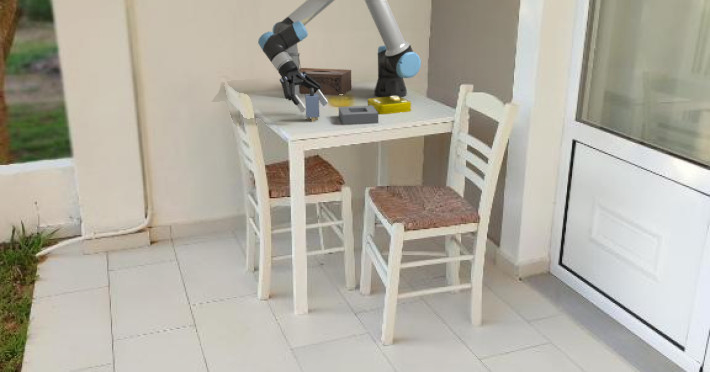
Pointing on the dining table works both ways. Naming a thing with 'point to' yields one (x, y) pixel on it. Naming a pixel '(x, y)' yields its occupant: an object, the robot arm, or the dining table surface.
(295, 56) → the water bottle
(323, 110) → the dining table surface
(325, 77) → the tissue box cover
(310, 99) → the plug
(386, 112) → the element tile
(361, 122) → the socket
